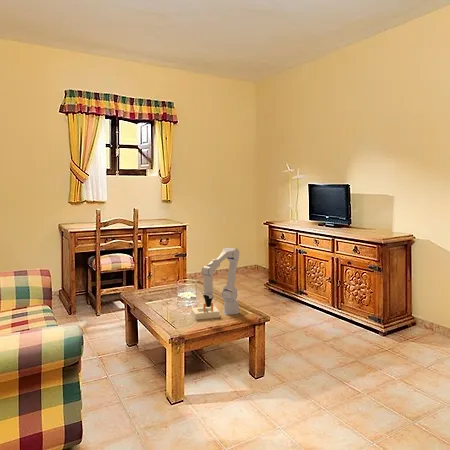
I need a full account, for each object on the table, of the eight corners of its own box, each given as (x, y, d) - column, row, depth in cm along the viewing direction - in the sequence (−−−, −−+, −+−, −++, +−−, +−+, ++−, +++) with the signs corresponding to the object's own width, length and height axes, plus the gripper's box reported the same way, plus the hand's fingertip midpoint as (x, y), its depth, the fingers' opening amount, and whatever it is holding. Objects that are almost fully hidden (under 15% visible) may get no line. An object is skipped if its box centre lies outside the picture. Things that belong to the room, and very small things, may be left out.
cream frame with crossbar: (214, 311, 270) (214, 303, 269) (219, 317, 258) (219, 308, 258) (191, 313, 265) (191, 305, 265) (195, 319, 254) (195, 311, 253)
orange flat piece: (212, 311, 251) (212, 302, 250) (213, 311, 250) (213, 303, 249) (203, 311, 249) (203, 303, 248) (203, 312, 248) (203, 303, 247)
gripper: (199, 283, 253) (199, 303, 255) (204, 288, 240) (204, 310, 241) (209, 282, 255) (210, 302, 257) (215, 287, 242) (216, 309, 243)
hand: (208, 306), depth 249 cm, fingers closed on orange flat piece, 1 cm apart
